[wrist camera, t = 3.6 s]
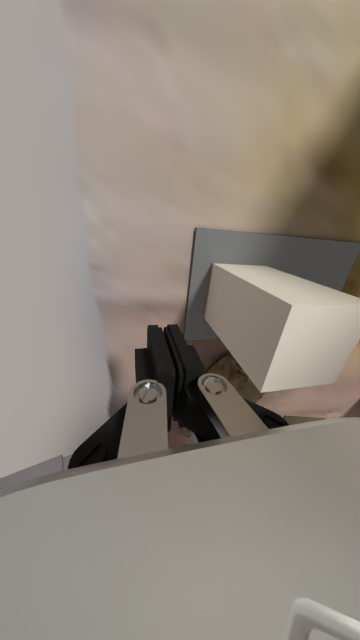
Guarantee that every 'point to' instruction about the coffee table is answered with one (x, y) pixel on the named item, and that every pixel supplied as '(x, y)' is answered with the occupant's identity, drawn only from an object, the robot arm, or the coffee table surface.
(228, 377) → the stone block
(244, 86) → the coffee table surface
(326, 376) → the cream rectangular block
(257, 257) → the rubber mat
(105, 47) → the coffee table surface
